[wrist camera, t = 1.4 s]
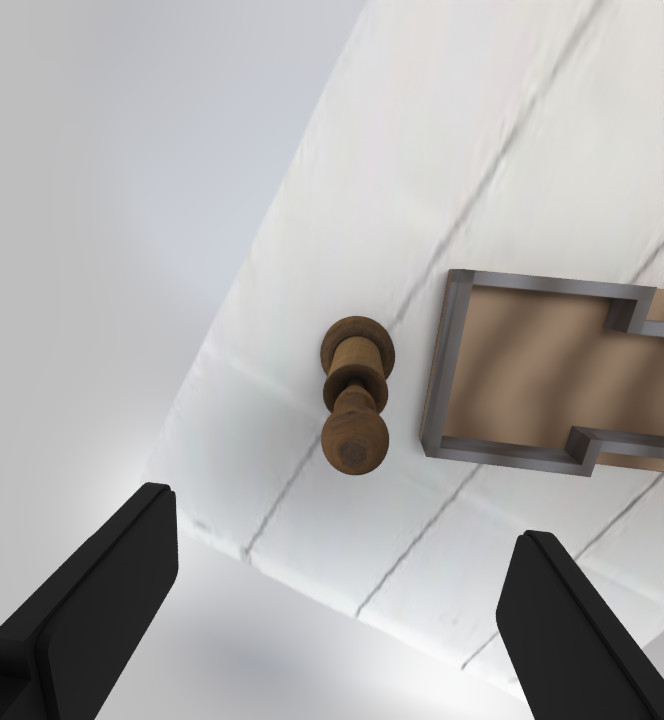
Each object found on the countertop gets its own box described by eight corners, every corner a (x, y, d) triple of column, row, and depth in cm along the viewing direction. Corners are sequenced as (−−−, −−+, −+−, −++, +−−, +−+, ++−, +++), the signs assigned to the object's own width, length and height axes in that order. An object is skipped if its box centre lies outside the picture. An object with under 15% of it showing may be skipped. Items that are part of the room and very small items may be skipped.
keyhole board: (748, 297, 27) (804, 301, 23) (675, 468, 31) (713, 492, 28) (449, 269, 28) (461, 269, 25) (419, 437, 32) (426, 456, 29)
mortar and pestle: (308, 352, 31) (243, 456, 14) (354, 300, 29) (346, 343, 12) (360, 397, 32) (360, 549, 14) (408, 349, 30) (472, 455, 13)
